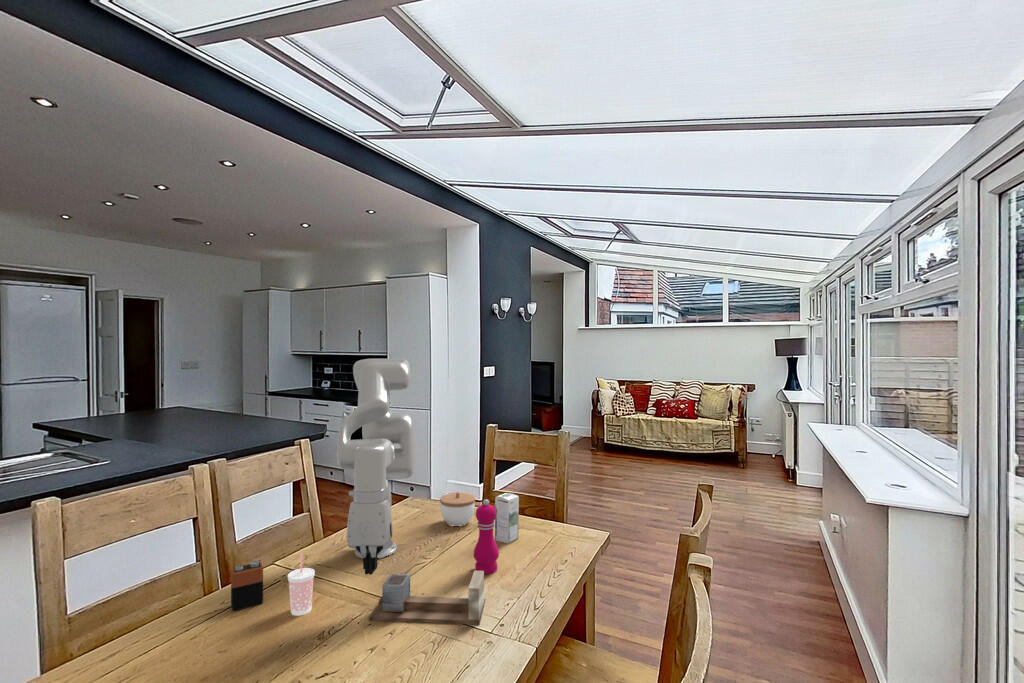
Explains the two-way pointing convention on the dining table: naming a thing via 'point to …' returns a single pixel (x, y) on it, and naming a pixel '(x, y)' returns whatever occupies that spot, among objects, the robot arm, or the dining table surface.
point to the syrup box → (506, 517)
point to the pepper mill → (486, 539)
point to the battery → (246, 585)
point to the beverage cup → (301, 589)
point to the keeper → (395, 592)
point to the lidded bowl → (457, 508)
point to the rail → (440, 607)
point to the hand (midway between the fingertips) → (370, 572)
